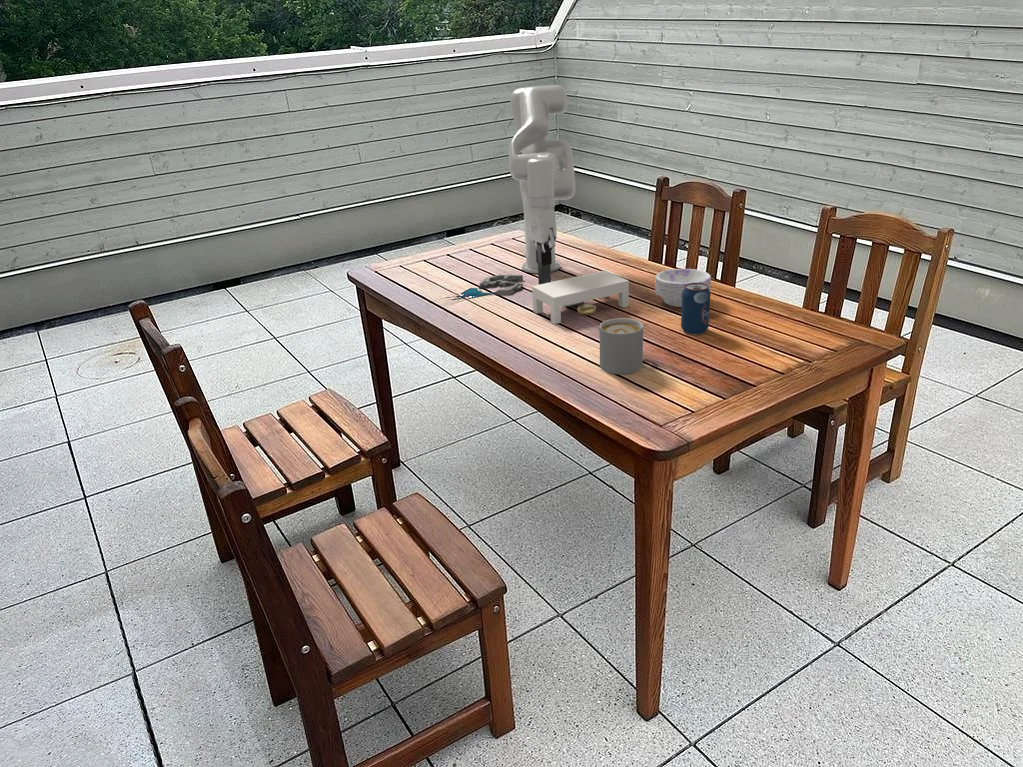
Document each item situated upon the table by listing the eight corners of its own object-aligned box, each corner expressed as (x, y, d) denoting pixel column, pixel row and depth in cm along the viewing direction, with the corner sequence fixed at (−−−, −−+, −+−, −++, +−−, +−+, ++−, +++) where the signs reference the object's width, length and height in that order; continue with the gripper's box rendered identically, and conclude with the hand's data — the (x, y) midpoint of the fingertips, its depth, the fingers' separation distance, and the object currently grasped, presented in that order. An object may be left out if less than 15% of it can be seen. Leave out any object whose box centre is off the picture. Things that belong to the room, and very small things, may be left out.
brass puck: (574, 312, 216) (574, 306, 216) (589, 308, 218) (589, 303, 217) (583, 317, 212) (583, 311, 211) (599, 313, 214) (598, 308, 213)
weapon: (538, 288, 236) (515, 276, 249) (537, 282, 236) (515, 270, 248) (434, 315, 223) (415, 300, 236) (433, 309, 223) (415, 295, 235)
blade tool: (534, 290, 234) (532, 244, 228) (551, 286, 236) (550, 241, 230) (566, 307, 219) (564, 259, 213) (584, 302, 221) (583, 255, 215)
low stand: (533, 311, 218) (532, 286, 215) (604, 294, 227) (604, 270, 224) (554, 324, 208) (553, 297, 205) (628, 306, 217) (628, 280, 214)
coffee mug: (622, 378, 175) (622, 337, 171) (591, 366, 182) (590, 326, 178) (661, 360, 182) (662, 321, 178) (629, 349, 190) (629, 311, 185)
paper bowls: (686, 290, 227) (687, 263, 224) (721, 304, 215) (722, 276, 211) (643, 300, 221) (644, 273, 218) (676, 315, 209) (677, 287, 205)
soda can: (709, 336, 194) (711, 290, 189) (680, 335, 196) (682, 290, 191) (707, 326, 200) (710, 281, 195) (680, 325, 202) (682, 281, 197)
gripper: (517, 199, 228) (520, 259, 236) (543, 208, 215) (546, 272, 223) (539, 195, 231) (542, 255, 239) (566, 204, 218) (568, 267, 226)
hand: (544, 263), depth 231 cm, fingers closed on blade tool, 2 cm apart
